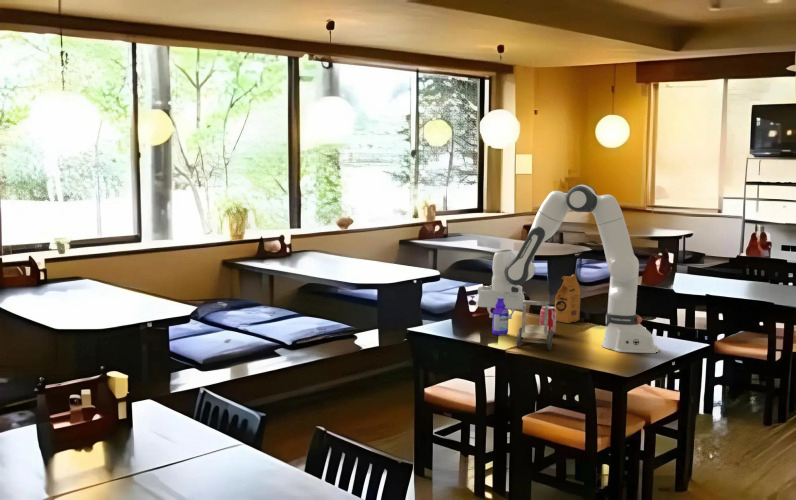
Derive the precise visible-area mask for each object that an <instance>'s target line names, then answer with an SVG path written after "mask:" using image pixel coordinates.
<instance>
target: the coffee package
mask: <svg viewBox="0 0 796 500" xmlns="http://www.w3.org/2000/svg"><path fill="white" fill-rule="evenodd" d="M561 280H563V282H562V284H561V286H560V288H559V289H558V290H557V293H556V294H555V298H554V307H555V310H556V322H559V323H564V324H565V323H566V324H571V323H576V322H578V321H579V320H580V311H581V310H580V309H581V289H580V288H581V287H580V284H579V282H578V279H577V277H576V275H575V274H574V273H573V274H571V276H570V275H569V276H568V275H567V276H565V275H563V276H561Z"/></svg>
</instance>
